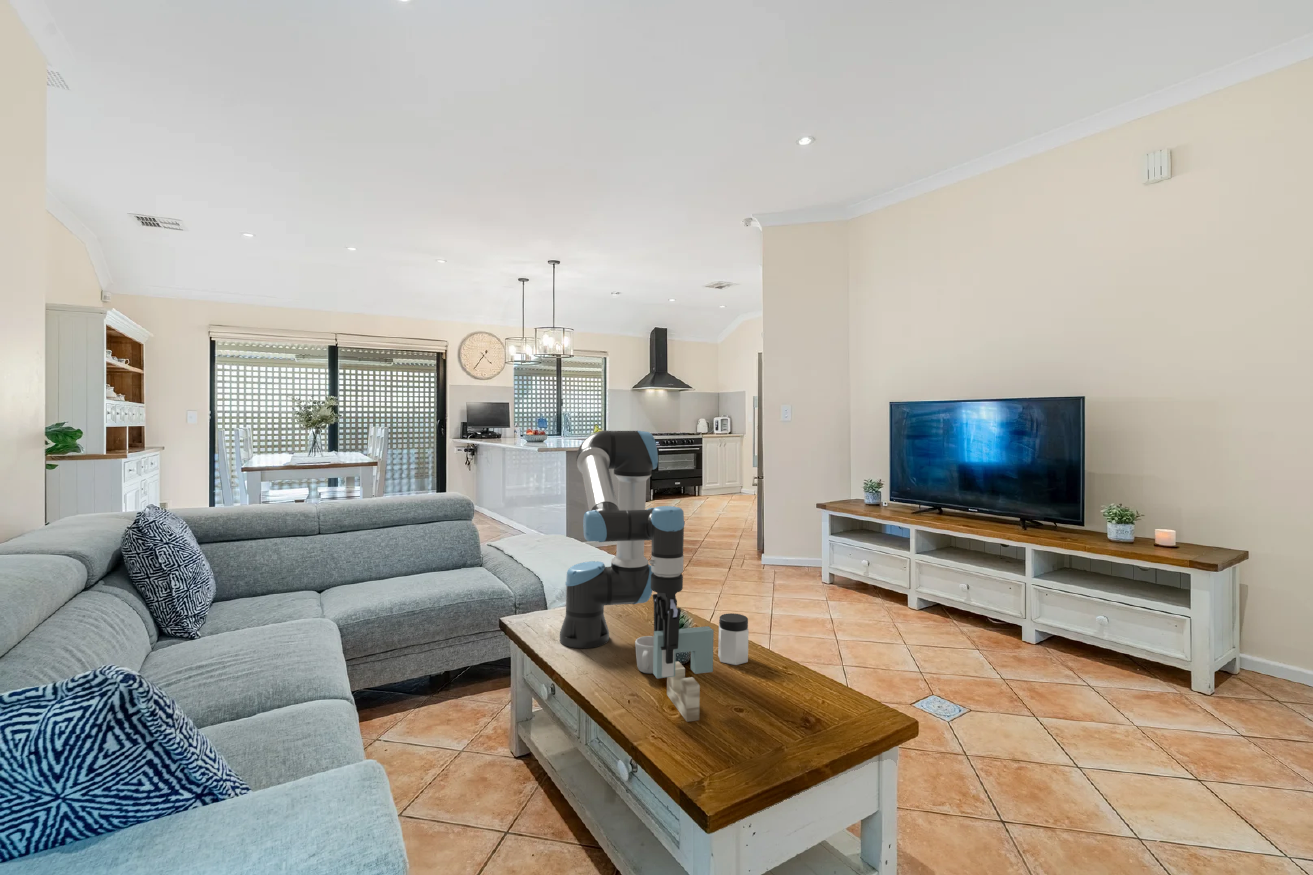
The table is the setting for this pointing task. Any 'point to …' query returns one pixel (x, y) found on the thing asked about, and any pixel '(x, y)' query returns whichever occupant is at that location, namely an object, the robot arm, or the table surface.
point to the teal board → (687, 649)
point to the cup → (645, 653)
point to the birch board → (684, 693)
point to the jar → (733, 639)
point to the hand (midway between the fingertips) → (665, 672)
